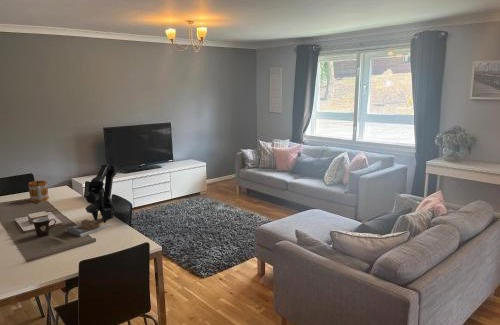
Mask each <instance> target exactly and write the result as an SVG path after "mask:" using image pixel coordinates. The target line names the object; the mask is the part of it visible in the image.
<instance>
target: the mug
mask: <svg viewBox="0 0 500 325" xmlns="http://www.w3.org/2000/svg"><path fill="white" fill-rule="evenodd" d="M47 182H48V181H47V180H44V179H43V180H42V179H41V180H35V181H33V180H32V181H30V182H28V184H27V186H28V192H29V198H30V200H29V202H31V203H42V202H45V201H46V202H47V201H48V200H49V198H50V197H49V190H48V184H47ZM41 201H42V202H41Z"/></svg>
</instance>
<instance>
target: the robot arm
mask: <svg viewBox="0 0 500 325" xmlns="http://www.w3.org/2000/svg"><path fill="white" fill-rule="evenodd" d="M117 171H118V167H117V166H116V165H115V164H105V163H103V164H101V165H100V169H99V171H98V173H97V175H96V177H93V178H92V179H91V180H90V182H89V186H88V189H87V190H88V191H87V192H88V195H87V196H86V202H87V203H89V205H87V206H86V207H85V211H86V213H88V214H91V215H92V217H93V220H95V221H96V222H97V221H98V217H99V213H100V215H101V217H102V218H101V219H102V221H103V224H106V223H107V221H108V220H111V219H114V212H115V210H116V207H115V205H114V204H113V200H112V189H113V182H114V181H113V180H114V177H116V175H117ZM104 179H105V180H104Z"/></svg>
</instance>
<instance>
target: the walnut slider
mask: <svg viewBox="0 0 500 325" xmlns="http://www.w3.org/2000/svg"><path fill="white" fill-rule="evenodd" d="M80 223H81V226H82V227H81V228H84V229H87V230H89V231H91V230H94V229H96V228H99V227H101V224H100V222H97V221H96V222H94V221H92V220H90V219H83V220H80Z"/></svg>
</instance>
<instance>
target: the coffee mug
mask: <svg viewBox="0 0 500 325" xmlns="http://www.w3.org/2000/svg"><path fill="white" fill-rule="evenodd" d="M51 221H54V223H53V225H51V226H50V222H51ZM32 222H33V225H34V226H33V227H34V230H35V233H36V236H37V237H38V238H43V237H47V236H49V233H50V232H49V231H50V230H51V229H52V228H53V227H54V226H55V224H56V223H57V221H56V219H53V218H52V219H50V218H49V217H48V216H47V217H44V216H43V217H37V218H35V219H33V220H32Z"/></svg>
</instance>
